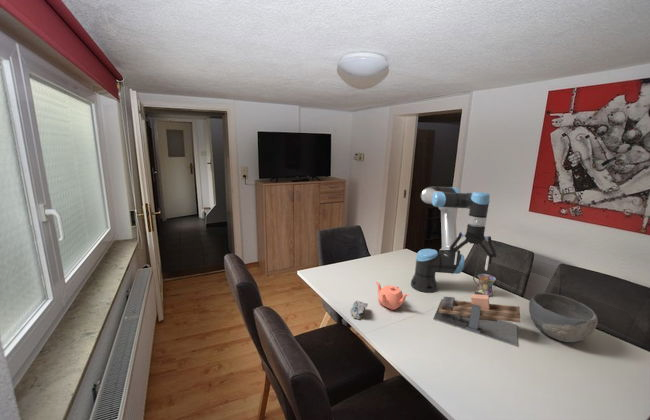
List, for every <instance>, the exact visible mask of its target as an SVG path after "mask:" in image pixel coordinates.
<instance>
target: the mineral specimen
mask: <svg viewBox="0 0 650 420" xmlns="http://www.w3.org/2000/svg"><path fill="white" fill-rule="evenodd" d="M368 305H369V303H366V302H363V301H360V300H356V301H354V303H353V304H352V307H350V313H351V314H350V315H351V316H353V317H352V318H353V319H356V320H357V319H358V320H361V319H362V318H363V314H365V312H366V309H367V307H368Z"/></svg>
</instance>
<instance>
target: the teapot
mask: <svg viewBox="0 0 650 420" xmlns="http://www.w3.org/2000/svg"><path fill="white" fill-rule="evenodd" d="M375 283H376V285H377V294H378V296H377V297H378V298H377V301H378V303H379V304H380V305H381V307H385V308H388V309H389V310H390V311H394V310H397V309H398V308H401V306H402V305H403V304H404V303H405V301H406V298H407V296H409V295H410V294H409V293H404V294H403V291H402V289H401V288H400V287H398V286H394V285H391V284H387V285H385V286H383V287H382V285H381V283H379V282H378V281H375Z"/></svg>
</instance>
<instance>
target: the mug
mask: <svg viewBox="0 0 650 420" xmlns="http://www.w3.org/2000/svg"><path fill="white" fill-rule="evenodd" d="M475 277H477V279H478V282H479V283H478V282H477V281H476V280H475ZM472 278H473V281H474V283H475V284H476V285H477V289H476V291H478V292H482V293H483V295H488V296H489V297H491V296H493V285H494V284H495V282H496V281H497V278H496V277H495V276H493V275H491V274H488V273H478V275H474V276H473V277H472Z"/></svg>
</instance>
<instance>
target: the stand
mask: <svg viewBox="0 0 650 420" xmlns="http://www.w3.org/2000/svg"><path fill="white" fill-rule="evenodd" d="M474 294H478V295H483V293H482V292H478V291H477V290H475V291H474ZM480 310H481V306H479V305H475V304H472V309H471V315H470V318H464V317H459V315H454V314H446V313H439V306H438V307H437V309H436V311H435V313H434V316H433V318H432V319H433V320H434V321H437V322H440V323H442V324H446V325H450V326H452V327H455V328H459V329H461V330H465V331H468V332H471V333H474V334H476V335H480V336H484V337H486V338H489V339H493V340H495V341H499V342H502V343H506V344H508V345H511V346H515V347H518V334H517V333H518V331H517V329H518V328H517V324H516V323H512V322H510V321H504V320H497V322H496V321H488V320H480V319H479V316H480Z"/></svg>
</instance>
